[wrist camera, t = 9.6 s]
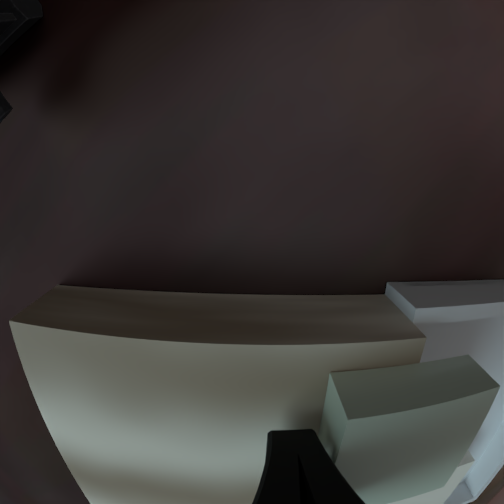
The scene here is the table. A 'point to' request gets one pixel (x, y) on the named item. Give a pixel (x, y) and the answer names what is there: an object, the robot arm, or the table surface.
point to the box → (464, 343)
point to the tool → (15, 30)
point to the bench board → (192, 381)
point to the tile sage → (404, 424)
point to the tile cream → (434, 499)
